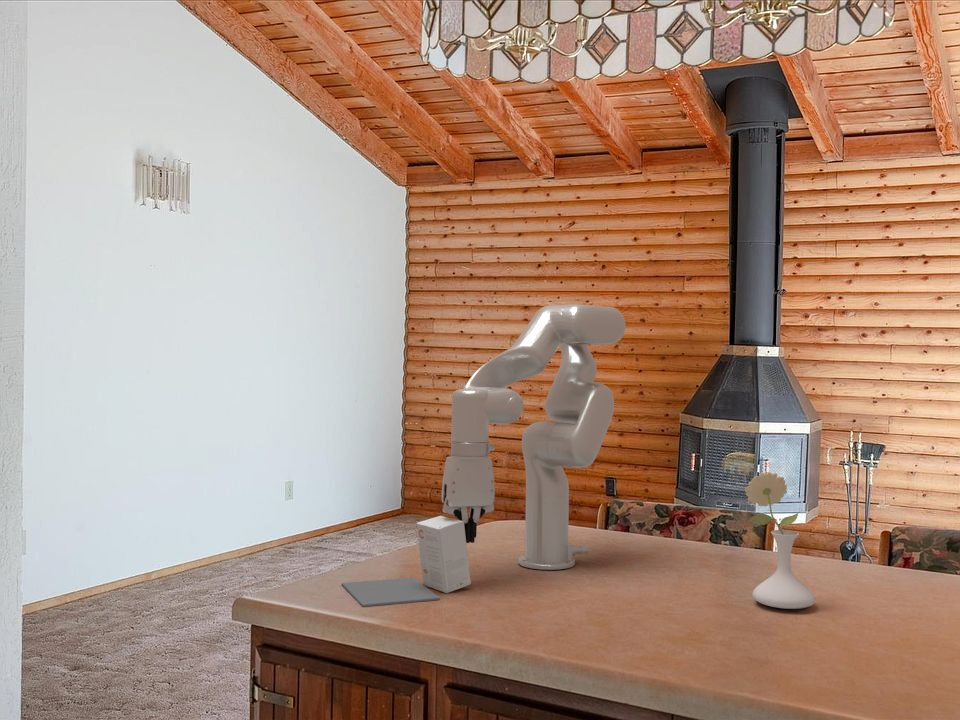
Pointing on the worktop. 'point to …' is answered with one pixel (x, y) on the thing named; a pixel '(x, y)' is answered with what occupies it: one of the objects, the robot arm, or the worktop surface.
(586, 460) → the robot arm
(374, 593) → the mat
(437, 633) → the worktop surface
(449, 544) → the small box
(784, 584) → the flower in vase
